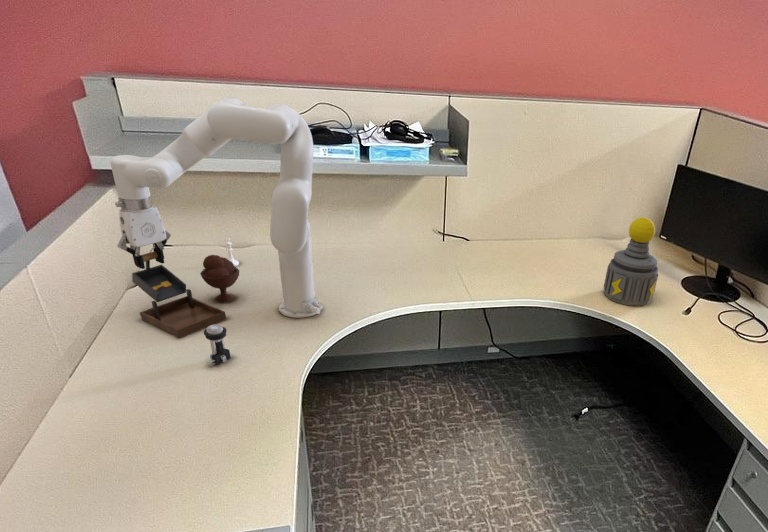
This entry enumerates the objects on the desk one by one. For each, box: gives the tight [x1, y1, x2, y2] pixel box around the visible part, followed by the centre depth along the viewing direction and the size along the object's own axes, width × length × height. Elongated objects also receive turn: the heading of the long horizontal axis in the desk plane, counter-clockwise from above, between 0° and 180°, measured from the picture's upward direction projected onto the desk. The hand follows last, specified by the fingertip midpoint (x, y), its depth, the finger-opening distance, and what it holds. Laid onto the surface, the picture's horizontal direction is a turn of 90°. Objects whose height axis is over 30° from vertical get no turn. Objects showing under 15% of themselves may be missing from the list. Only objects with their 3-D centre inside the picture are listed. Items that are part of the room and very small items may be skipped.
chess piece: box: [224, 236, 240, 267], centre depth 202 cm, size 5×5×10 cm
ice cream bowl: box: [199, 254, 240, 304], centre depth 176 cm, size 11×11×15 cm
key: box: [152, 281, 172, 291], centre depth 166 cm, size 6×2×1 cm, turn 150°
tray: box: [139, 288, 227, 339], centre depth 165 cm, size 17×15×7 cm
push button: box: [203, 323, 231, 367], centre depth 147 cm, size 7×5×10 cm
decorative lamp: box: [603, 216, 659, 307], centre depth 204 cm, size 19×19×30 cm
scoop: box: [131, 251, 187, 303], centre depth 164 cm, size 12×9×8 cm
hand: (150, 264), depth 164 cm, fingers closed on scoop, 5 cm apart
